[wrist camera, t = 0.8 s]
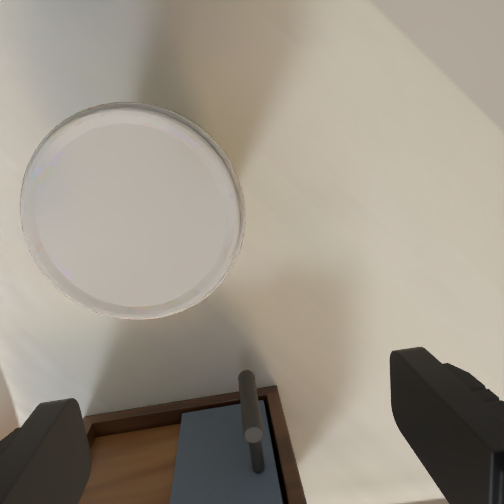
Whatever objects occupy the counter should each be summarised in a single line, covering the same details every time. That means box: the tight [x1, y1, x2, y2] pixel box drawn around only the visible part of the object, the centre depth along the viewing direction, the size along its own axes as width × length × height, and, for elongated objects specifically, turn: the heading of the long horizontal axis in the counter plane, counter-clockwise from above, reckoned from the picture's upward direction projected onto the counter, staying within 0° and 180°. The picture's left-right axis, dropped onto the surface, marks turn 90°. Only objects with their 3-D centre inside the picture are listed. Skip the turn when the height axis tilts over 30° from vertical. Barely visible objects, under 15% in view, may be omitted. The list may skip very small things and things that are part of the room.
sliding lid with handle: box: [170, 370, 283, 504], centre depth 25 cm, size 5×7×9 cm
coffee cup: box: [20, 102, 245, 320], centre depth 21 cm, size 9×9×12 cm
